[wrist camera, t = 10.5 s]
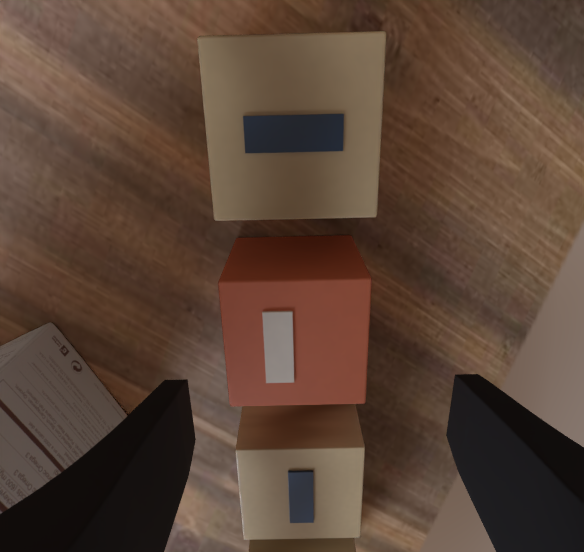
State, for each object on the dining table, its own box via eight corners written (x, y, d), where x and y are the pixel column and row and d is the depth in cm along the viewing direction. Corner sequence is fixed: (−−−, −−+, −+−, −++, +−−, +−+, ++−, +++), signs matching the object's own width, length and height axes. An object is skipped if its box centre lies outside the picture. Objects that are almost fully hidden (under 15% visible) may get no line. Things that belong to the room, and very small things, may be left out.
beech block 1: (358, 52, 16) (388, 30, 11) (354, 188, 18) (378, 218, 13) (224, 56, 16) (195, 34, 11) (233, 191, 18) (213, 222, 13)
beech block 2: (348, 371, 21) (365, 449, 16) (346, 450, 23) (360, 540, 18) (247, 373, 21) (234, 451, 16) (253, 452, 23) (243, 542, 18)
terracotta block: (348, 335, 20) (366, 406, 15) (243, 338, 20) (229, 409, 15) (351, 234, 18) (372, 279, 14) (236, 237, 18) (216, 282, 14)
